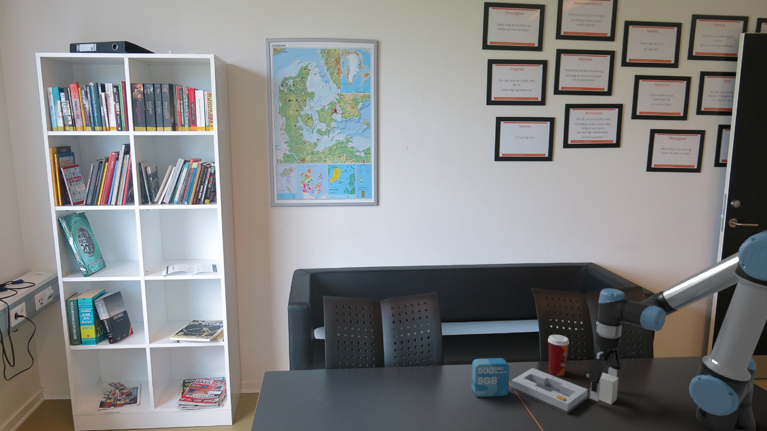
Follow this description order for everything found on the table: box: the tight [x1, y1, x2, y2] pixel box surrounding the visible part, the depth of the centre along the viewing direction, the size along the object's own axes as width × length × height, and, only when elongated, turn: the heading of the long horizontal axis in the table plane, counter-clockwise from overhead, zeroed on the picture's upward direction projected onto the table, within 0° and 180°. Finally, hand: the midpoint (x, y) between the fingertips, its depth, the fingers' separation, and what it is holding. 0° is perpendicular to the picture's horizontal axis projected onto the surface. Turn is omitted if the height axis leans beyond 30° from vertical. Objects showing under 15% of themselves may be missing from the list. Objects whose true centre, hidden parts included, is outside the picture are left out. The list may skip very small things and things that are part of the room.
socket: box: [510, 367, 588, 415], centre depth 164 cm, size 21×14×4 cm, turn 42°
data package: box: [471, 357, 510, 398], centre depth 164 cm, size 12×4×12 cm, turn 94°
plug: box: [585, 372, 619, 405], centre depth 163 cm, size 10×4×8 cm, turn 42°
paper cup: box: [547, 334, 570, 377], centre depth 179 cm, size 8×8×14 cm
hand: (603, 392), depth 162 cm, fingers open, 13 cm apart
